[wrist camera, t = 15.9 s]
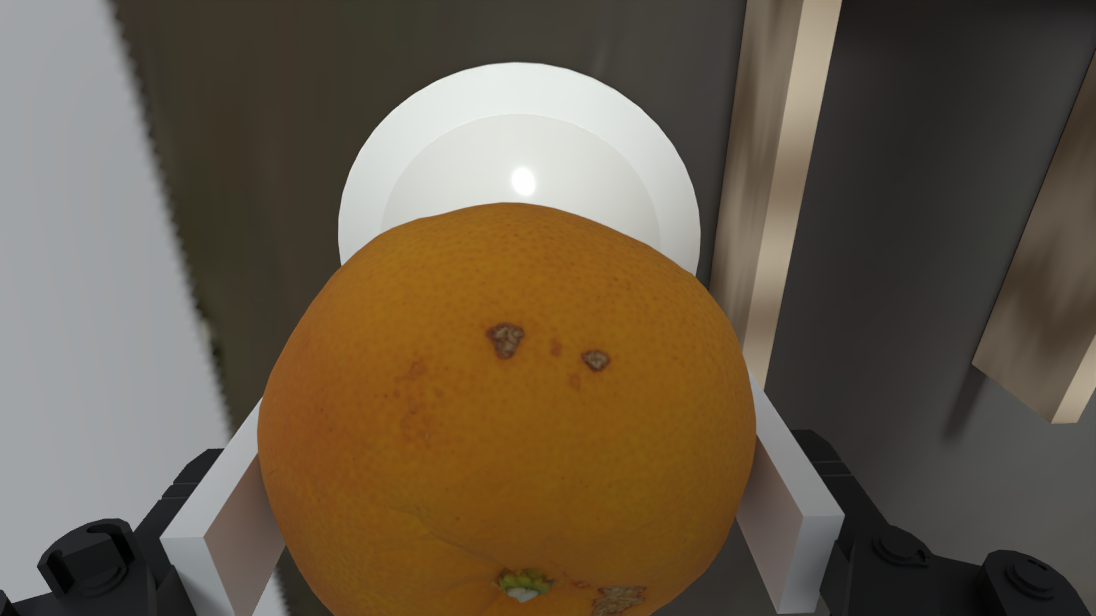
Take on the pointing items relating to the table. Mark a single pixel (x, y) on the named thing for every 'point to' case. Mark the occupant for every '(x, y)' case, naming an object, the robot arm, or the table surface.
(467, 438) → the fruit
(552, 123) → the plate
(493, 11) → the table surface
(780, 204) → the oak open frame
